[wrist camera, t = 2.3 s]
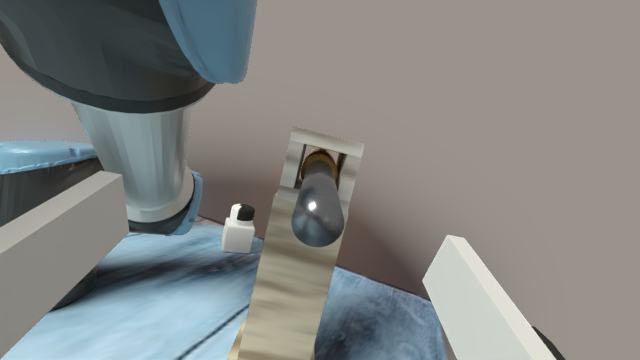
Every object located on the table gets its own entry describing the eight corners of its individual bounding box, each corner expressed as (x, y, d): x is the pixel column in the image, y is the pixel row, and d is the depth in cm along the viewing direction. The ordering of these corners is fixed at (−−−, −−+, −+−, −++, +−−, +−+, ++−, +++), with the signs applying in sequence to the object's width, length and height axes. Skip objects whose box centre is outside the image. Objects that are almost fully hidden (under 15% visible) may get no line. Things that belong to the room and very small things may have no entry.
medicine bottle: (246, 243, 77) (255, 204, 76) (249, 254, 71) (259, 211, 70) (221, 241, 75) (229, 200, 73) (222, 252, 68) (231, 207, 67)
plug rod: (343, 263, 17) (362, 197, 16) (274, 247, 16) (290, 179, 15) (329, 178, 42) (336, 151, 41) (302, 171, 42) (309, 144, 41)
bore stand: (311, 410, 33) (382, 148, 29) (215, 391, 32) (275, 121, 29) (312, 340, 45) (362, 148, 41) (242, 325, 44) (287, 129, 40)
